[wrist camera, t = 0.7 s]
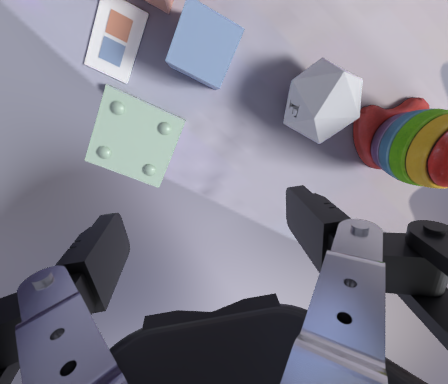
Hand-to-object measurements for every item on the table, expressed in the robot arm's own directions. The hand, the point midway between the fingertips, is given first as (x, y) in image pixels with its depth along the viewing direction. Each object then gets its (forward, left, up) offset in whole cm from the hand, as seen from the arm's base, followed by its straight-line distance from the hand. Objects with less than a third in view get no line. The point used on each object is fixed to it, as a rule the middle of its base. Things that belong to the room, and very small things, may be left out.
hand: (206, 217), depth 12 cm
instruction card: (-7, -13, -23) cm, 27 cm away
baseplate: (+3, -7, -23) cm, 25 cm away
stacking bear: (-12, +26, -23) cm, 37 cm away
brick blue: (-10, -3, -23) cm, 25 cm away
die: (-11, +12, -23) cm, 28 cm away
